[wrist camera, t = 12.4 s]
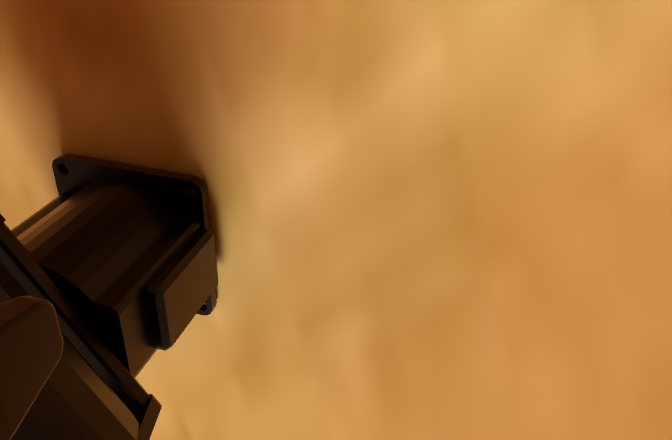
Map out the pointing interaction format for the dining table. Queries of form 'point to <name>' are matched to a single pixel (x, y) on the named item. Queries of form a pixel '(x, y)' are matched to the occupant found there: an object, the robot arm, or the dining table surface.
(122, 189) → the robot arm
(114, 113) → the dining table surface
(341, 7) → the dining table surface
